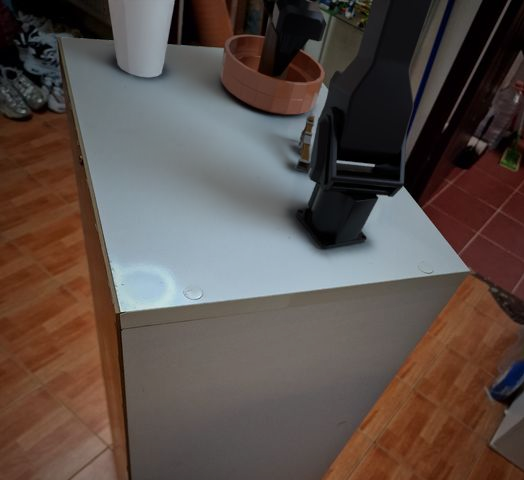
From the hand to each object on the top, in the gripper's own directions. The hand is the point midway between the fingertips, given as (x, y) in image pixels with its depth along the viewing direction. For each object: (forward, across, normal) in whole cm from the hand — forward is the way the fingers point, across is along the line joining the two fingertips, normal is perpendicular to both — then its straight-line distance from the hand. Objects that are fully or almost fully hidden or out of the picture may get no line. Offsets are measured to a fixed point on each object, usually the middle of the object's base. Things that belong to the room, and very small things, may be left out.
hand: (273, 67), depth 65 cm
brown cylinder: (+3, 0, 0) cm, 3 cm away
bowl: (+4, 0, 0) cm, 4 cm away
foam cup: (+4, 0, -19) cm, 20 cm away
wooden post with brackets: (+4, +17, +2) cm, 18 cm away
